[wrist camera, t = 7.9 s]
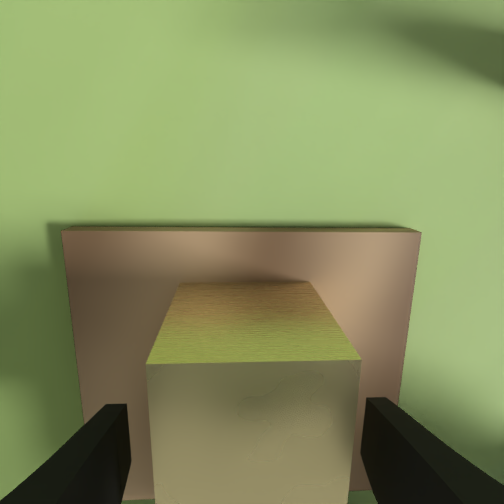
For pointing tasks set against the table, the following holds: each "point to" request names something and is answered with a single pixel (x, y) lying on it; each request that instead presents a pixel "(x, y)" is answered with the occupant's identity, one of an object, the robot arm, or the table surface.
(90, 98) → the table surface
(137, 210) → the table surface
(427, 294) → the table surface
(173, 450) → the tan rectangular block
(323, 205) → the table surface
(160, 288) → the walnut board
